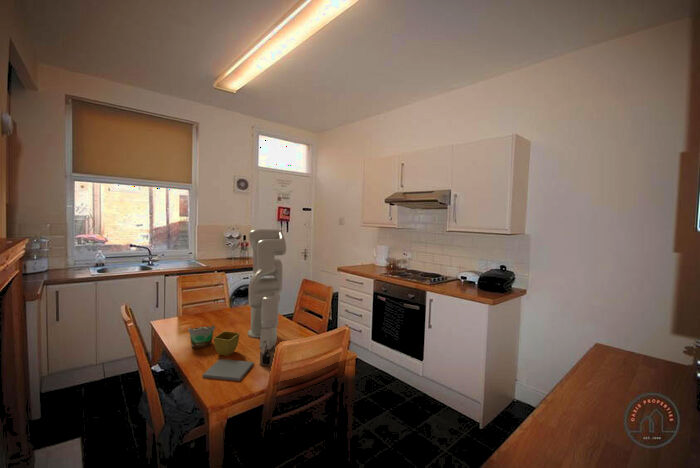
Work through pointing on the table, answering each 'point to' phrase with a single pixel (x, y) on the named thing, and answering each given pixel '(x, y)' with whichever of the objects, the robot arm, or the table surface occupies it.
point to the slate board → (228, 369)
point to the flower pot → (226, 342)
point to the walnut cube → (269, 355)
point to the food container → (201, 337)
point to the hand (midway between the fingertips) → (268, 360)
